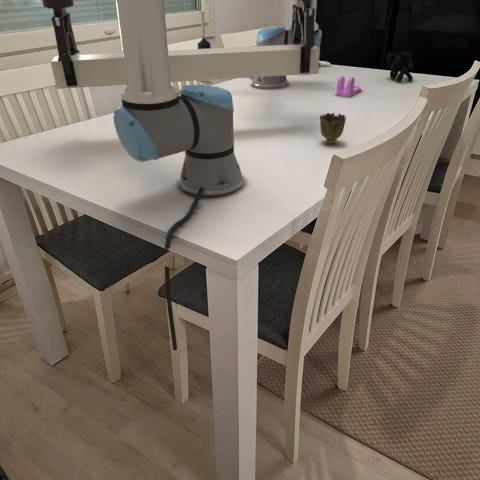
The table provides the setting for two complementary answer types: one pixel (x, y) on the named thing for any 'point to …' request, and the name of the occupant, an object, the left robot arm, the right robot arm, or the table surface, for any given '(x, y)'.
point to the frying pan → (323, 63)
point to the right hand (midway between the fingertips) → (300, 69)
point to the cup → (332, 127)
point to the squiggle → (399, 66)
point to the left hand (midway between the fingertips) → (74, 82)
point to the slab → (192, 65)
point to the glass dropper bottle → (204, 47)
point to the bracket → (349, 89)
